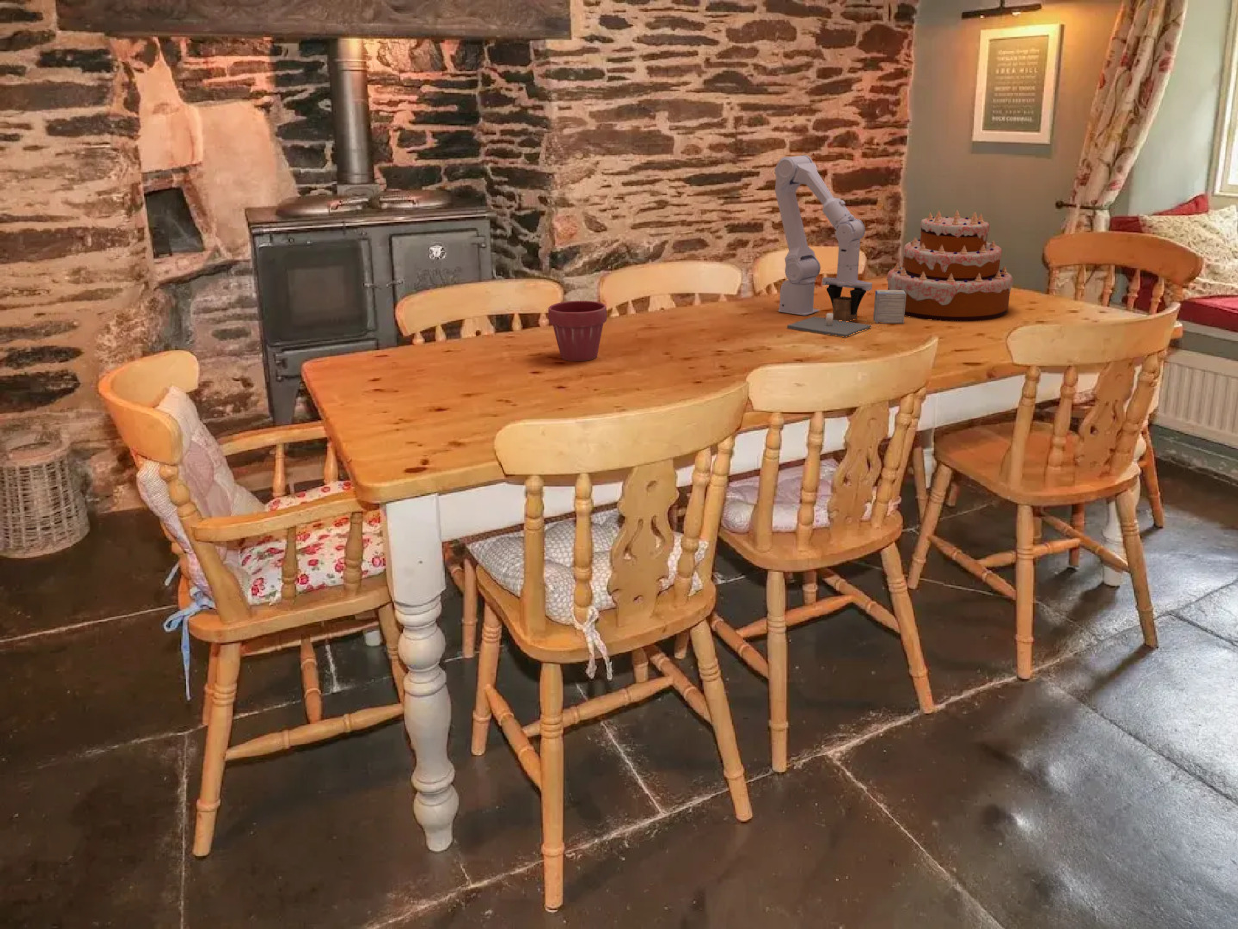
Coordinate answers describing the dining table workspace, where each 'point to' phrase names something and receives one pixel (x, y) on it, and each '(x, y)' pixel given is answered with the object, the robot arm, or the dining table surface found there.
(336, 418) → the dining table surface
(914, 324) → the dining table surface
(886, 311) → the medicine box
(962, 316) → the cake
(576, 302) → the plant pot
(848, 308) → the walnut collar
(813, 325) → the pin board
